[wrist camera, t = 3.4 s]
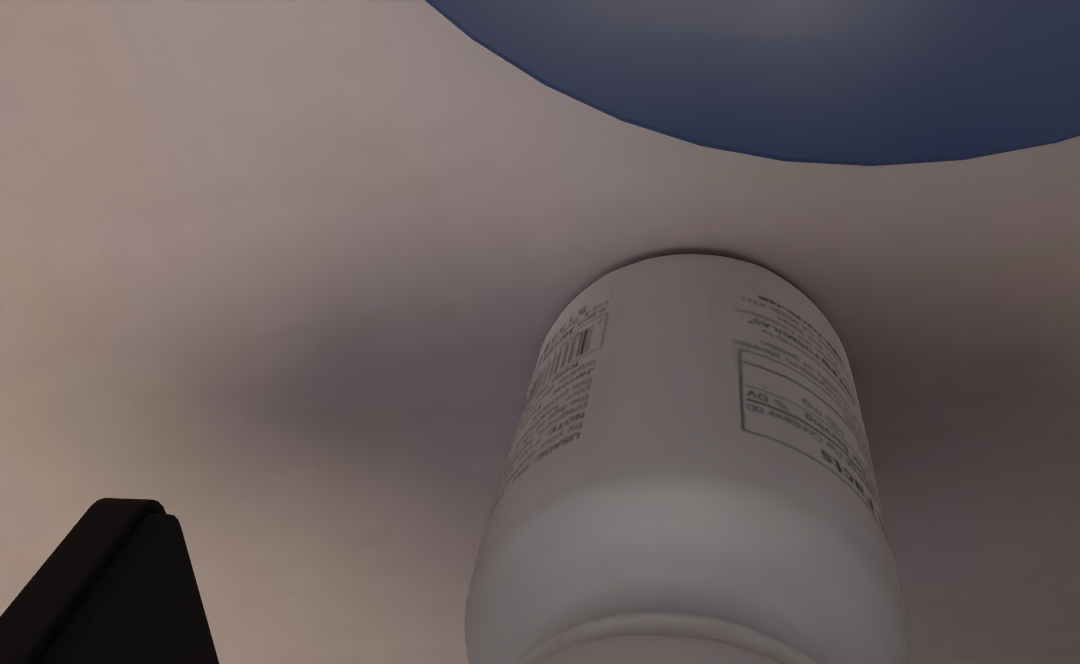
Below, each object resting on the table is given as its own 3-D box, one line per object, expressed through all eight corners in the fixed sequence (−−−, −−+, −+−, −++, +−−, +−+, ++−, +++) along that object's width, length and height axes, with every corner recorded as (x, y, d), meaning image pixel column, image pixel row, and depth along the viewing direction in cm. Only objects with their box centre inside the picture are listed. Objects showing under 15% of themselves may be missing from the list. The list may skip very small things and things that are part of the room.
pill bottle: (563, 518, 16) (451, 1054, 9) (513, 261, 14) (325, 704, 7) (856, 505, 15) (966, 1089, 8) (846, 228, 13) (981, 701, 6)
